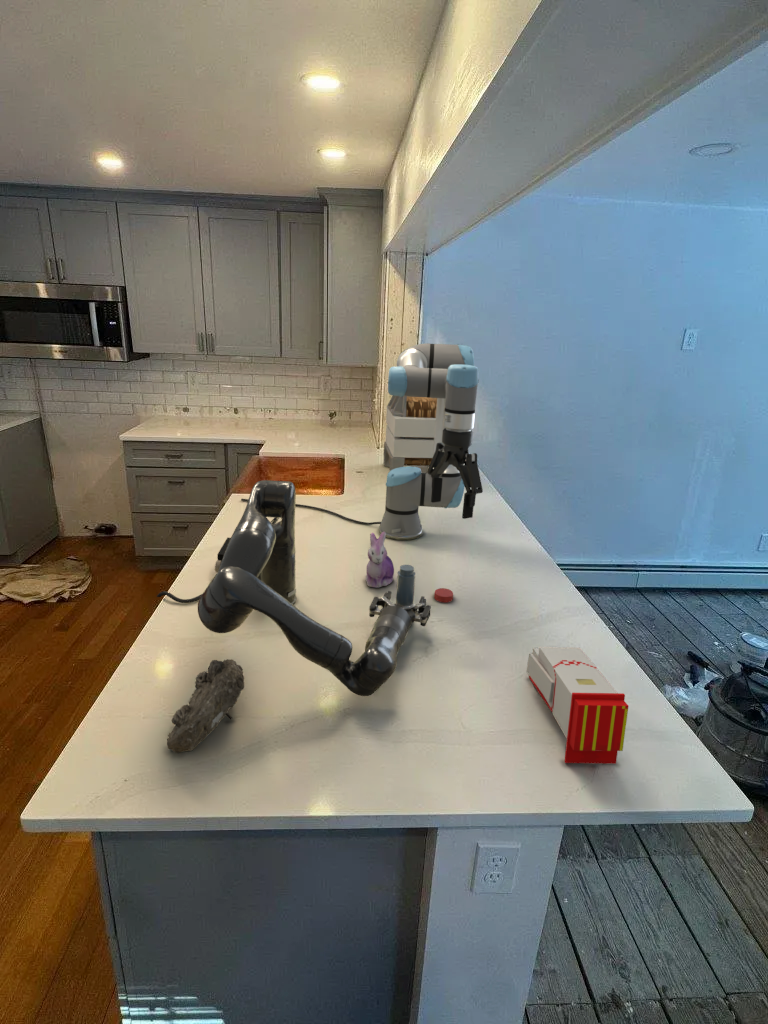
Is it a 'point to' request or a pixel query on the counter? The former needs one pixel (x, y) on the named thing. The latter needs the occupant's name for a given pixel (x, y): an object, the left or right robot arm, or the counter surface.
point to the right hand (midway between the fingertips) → (450, 509)
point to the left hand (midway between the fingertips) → (406, 596)
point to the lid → (443, 595)
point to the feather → (274, 520)
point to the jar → (405, 585)
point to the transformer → (409, 431)
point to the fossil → (206, 705)
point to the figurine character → (221, 554)
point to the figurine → (379, 563)
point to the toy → (580, 703)
